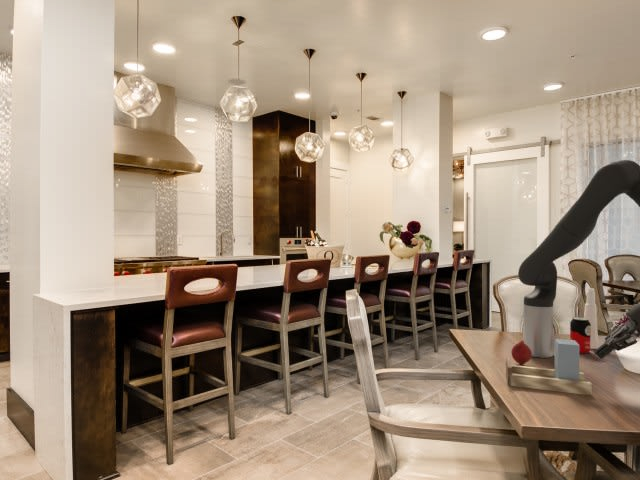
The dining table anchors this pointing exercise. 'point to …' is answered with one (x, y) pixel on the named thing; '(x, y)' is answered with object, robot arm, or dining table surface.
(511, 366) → the wooden tray frame
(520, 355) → the pomegranate
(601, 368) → the dining table surface
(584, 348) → the beverage can
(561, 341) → the block
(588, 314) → the cosmetic bottle
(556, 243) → the robot arm
